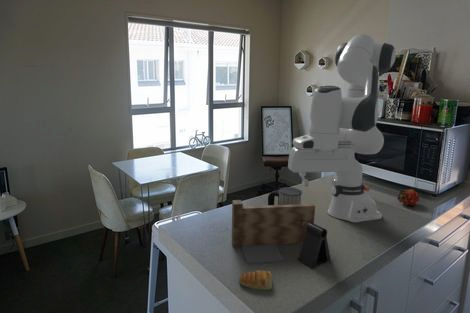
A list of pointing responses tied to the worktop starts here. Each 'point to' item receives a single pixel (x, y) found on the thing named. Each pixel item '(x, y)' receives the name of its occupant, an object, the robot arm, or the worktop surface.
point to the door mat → (262, 253)
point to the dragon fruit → (408, 197)
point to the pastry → (257, 280)
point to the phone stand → (315, 247)
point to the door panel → (270, 223)
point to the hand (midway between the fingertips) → (319, 185)
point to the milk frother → (285, 196)
